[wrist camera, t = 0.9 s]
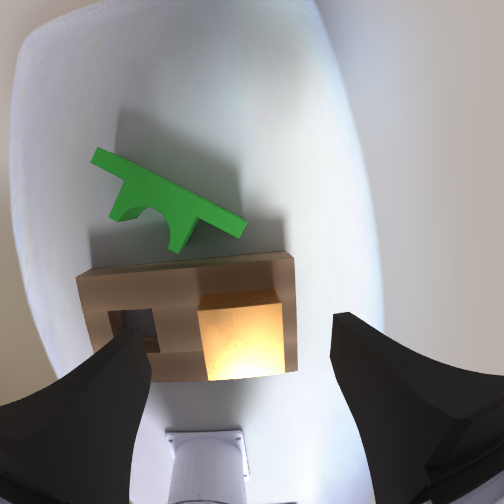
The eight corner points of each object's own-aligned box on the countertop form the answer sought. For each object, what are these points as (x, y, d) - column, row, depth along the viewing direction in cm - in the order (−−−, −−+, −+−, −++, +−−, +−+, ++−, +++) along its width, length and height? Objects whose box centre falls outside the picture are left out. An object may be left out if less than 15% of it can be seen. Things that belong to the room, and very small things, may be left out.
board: (290, 353, 25) (297, 370, 22) (114, 363, 24) (103, 380, 21) (285, 250, 23) (293, 258, 20) (91, 268, 22) (75, 277, 19)
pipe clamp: (100, 198, 21) (73, 198, 17) (120, 156, 21) (97, 146, 17) (221, 261, 23) (219, 276, 18) (244, 218, 23) (248, 222, 18)
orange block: (272, 336, 24) (284, 372, 18) (212, 341, 24) (208, 380, 18) (268, 278, 23) (281, 302, 17) (204, 284, 23) (197, 311, 17)
